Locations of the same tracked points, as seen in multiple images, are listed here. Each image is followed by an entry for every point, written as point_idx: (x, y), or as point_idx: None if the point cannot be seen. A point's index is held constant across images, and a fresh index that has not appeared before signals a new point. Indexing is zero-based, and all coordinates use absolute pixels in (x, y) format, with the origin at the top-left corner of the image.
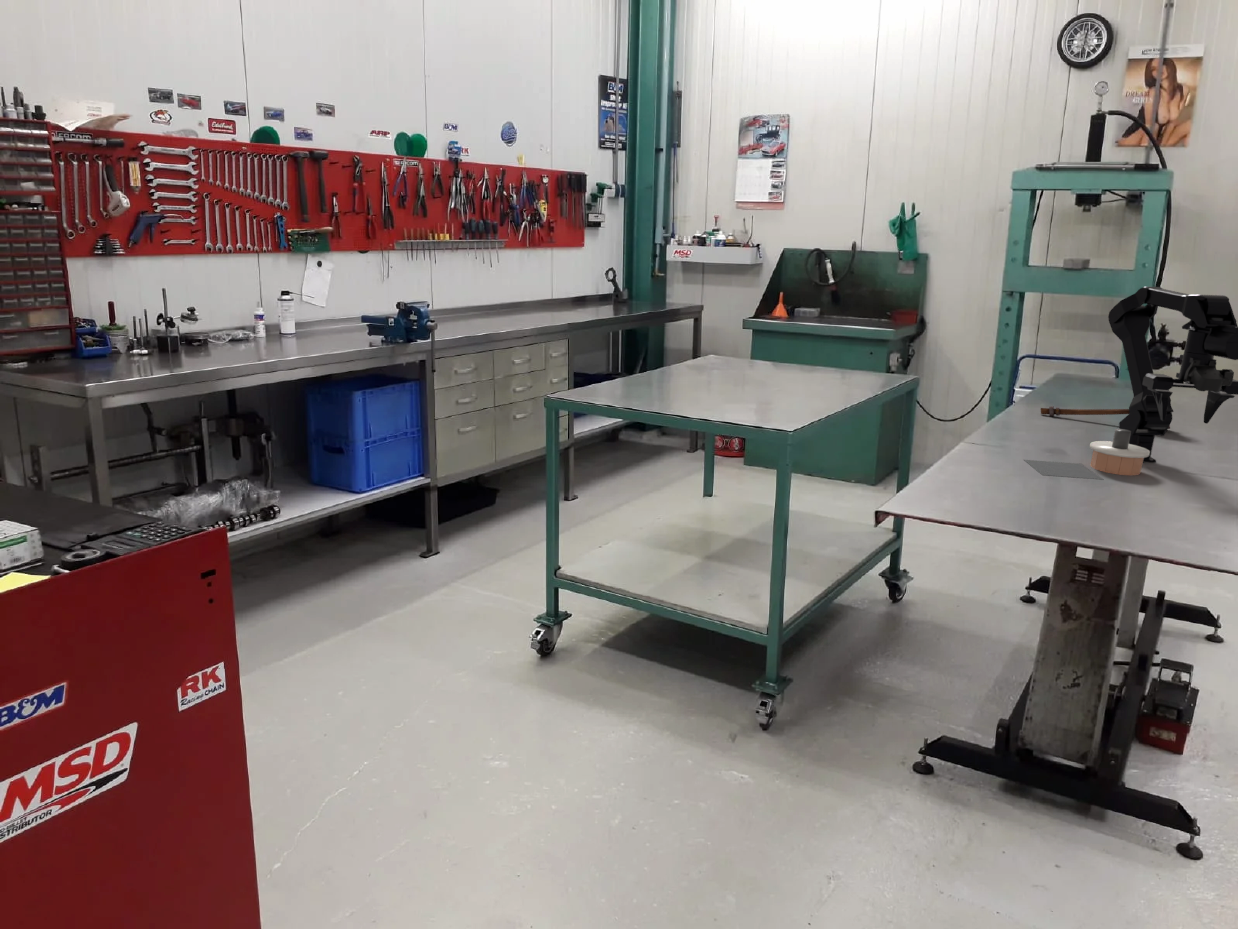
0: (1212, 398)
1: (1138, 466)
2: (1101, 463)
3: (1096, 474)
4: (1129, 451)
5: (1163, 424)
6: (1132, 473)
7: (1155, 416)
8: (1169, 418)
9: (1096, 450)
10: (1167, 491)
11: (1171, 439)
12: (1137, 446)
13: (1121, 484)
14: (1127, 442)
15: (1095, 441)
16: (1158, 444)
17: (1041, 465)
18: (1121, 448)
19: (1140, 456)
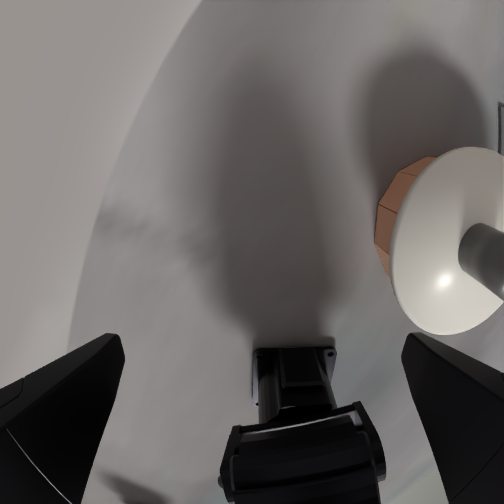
0: (30, 491)
1: (422, 170)
2: None
3: (502, 151)
4: (476, 192)
5: (268, 439)
6: (427, 159)
7: (322, 458)
8: (246, 463)
9: None
10: (382, 11)
11: (140, 486)
12: (406, 289)
13: (473, 74)
14: (488, 233)
15: (492, 312)
16: (173, 471)
17: None
18: (486, 223)
19: (457, 148)
